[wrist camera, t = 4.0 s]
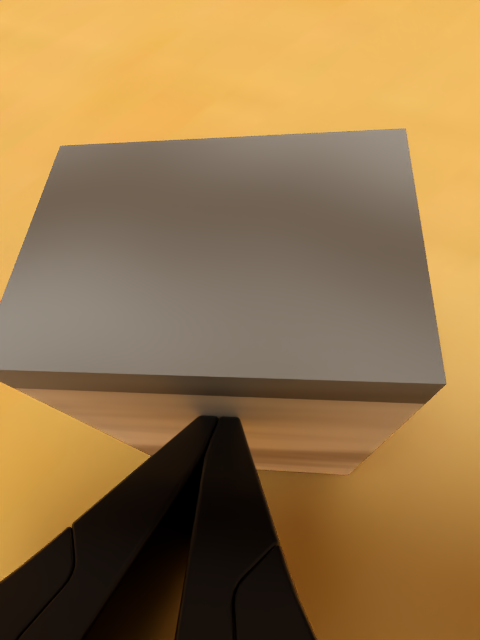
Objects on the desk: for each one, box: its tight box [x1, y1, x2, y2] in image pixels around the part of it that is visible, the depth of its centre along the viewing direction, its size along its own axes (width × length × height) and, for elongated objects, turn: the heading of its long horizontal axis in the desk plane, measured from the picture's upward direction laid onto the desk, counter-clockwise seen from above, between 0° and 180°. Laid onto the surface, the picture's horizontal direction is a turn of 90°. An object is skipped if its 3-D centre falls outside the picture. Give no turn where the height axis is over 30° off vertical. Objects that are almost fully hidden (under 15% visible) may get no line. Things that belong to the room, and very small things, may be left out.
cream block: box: [0, 129, 446, 475], centre depth 12 cm, size 5×7×11 cm
